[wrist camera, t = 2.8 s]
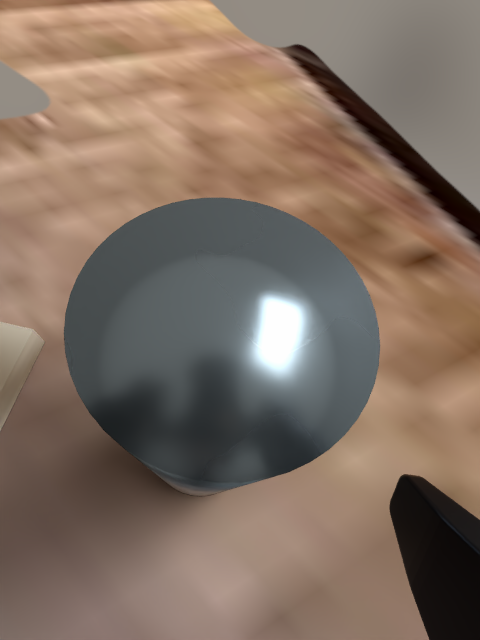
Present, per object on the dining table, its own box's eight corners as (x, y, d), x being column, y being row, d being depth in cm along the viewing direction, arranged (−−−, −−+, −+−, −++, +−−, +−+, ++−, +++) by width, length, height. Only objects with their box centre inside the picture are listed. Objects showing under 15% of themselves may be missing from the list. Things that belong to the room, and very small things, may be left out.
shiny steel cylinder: (242, 506, 16) (379, 519, 4) (137, 483, 16) (-2, 436, 4) (259, 402, 18) (380, 232, 7) (167, 381, 18) (129, 171, 7)
